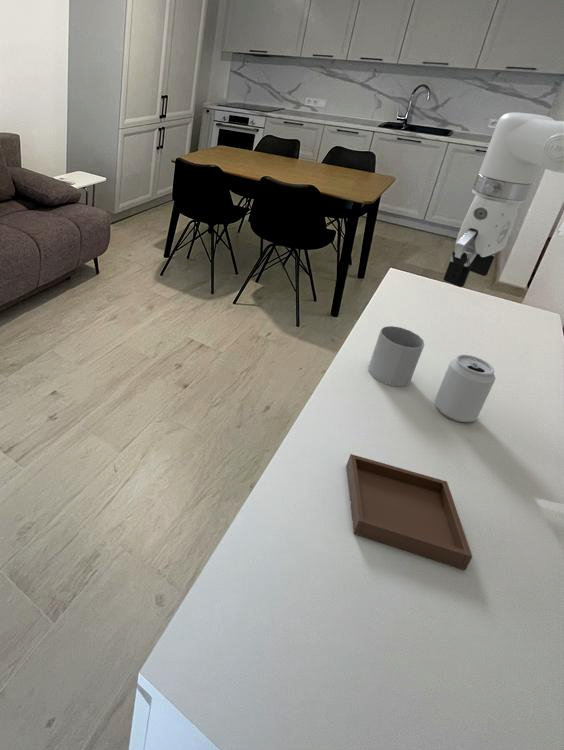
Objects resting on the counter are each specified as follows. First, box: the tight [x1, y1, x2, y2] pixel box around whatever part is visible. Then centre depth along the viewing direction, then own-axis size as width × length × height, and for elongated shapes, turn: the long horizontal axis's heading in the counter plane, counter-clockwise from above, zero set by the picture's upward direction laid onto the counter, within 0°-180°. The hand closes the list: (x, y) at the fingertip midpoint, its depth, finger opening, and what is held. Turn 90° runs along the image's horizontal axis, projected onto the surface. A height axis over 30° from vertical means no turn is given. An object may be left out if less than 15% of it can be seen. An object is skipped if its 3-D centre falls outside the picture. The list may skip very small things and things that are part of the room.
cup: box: [367, 325, 425, 388], centre depth 108 cm, size 8×8×10 cm
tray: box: [345, 453, 473, 571], centre depth 77 cm, size 15×14×3 cm
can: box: [434, 354, 496, 423], centre depth 98 cm, size 8×8×12 cm
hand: (465, 278), depth 91 cm, fingers open, 9 cm apart
